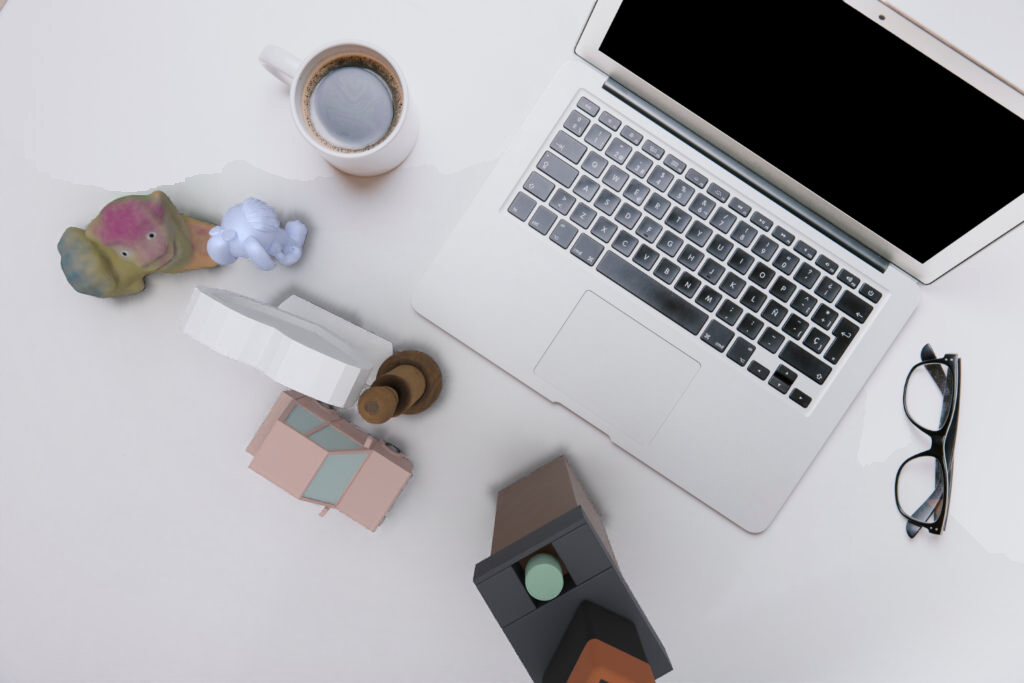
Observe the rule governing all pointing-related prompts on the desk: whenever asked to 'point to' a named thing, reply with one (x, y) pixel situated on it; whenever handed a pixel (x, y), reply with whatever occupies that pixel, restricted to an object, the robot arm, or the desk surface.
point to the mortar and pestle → (401, 387)
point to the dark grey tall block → (583, 558)
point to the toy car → (328, 460)
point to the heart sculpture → (288, 343)
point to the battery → (599, 650)
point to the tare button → (543, 577)
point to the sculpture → (133, 246)
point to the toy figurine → (256, 236)
